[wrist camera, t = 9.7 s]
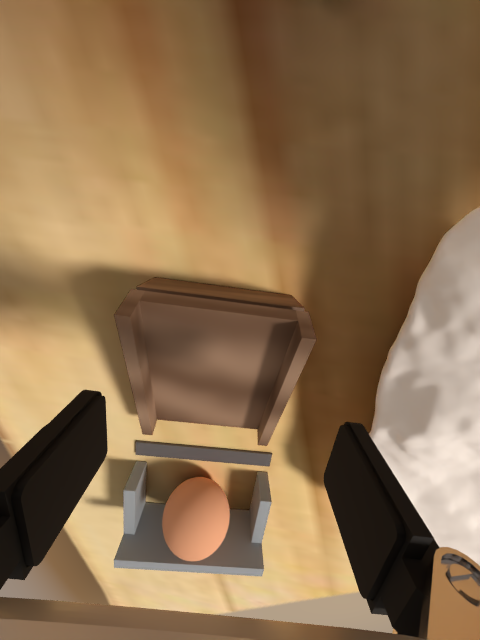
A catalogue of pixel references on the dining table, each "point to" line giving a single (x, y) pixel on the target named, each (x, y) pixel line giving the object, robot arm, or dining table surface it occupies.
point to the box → (146, 518)
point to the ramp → (212, 353)
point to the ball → (196, 519)
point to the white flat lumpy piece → (438, 393)
